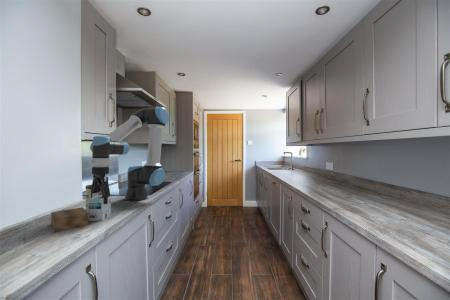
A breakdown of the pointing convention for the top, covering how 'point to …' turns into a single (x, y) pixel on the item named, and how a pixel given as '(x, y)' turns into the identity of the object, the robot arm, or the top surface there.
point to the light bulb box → (98, 209)
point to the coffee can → (89, 195)
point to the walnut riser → (69, 219)
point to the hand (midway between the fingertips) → (99, 207)
